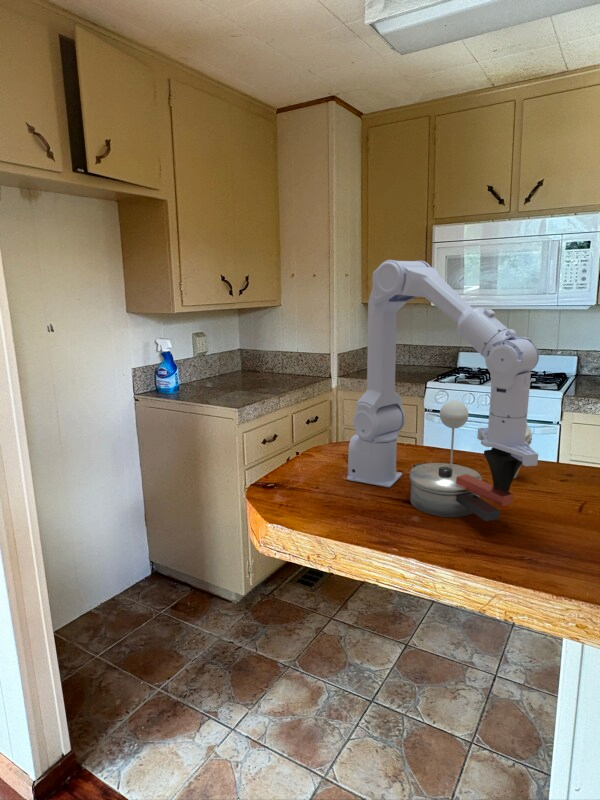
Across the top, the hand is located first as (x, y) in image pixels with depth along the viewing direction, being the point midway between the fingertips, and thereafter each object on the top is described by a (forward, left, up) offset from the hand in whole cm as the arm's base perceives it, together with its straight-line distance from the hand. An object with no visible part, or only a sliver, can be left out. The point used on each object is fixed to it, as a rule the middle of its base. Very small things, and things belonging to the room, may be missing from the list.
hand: (501, 492), depth 88 cm
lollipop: (-13, +23, -6) cm, 27 cm away
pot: (-9, +2, -5) cm, 10 cm away
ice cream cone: (0, +23, -6) cm, 23 cm away
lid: (-7, +2, -1) cm, 7 cm away
